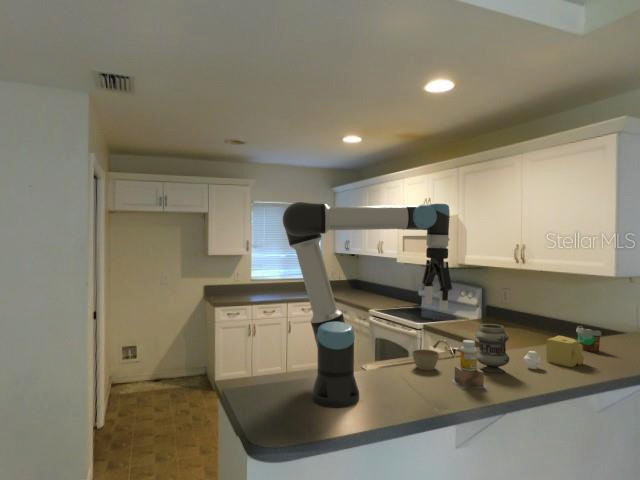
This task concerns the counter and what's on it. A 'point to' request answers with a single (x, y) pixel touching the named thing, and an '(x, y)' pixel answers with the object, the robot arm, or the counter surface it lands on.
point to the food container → (588, 339)
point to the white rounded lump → (532, 360)
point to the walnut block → (469, 377)
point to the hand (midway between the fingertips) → (435, 306)
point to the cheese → (564, 351)
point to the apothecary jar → (492, 347)
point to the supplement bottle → (468, 356)
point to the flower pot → (425, 359)
